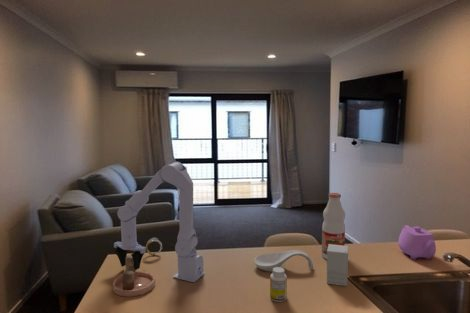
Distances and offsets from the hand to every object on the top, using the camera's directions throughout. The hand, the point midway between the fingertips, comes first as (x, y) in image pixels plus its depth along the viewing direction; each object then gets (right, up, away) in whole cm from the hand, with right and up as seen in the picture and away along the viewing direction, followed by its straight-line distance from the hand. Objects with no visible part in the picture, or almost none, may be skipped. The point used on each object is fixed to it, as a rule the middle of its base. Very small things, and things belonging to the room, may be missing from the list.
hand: (130, 267), depth 136 cm
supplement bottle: (+56, -4, -21) cm, 60 cm away
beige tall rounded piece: (0, -1, 0) cm, 1 cm away
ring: (+6, 0, +15) cm, 16 cm away
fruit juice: (+84, 0, +12) cm, 85 cm away
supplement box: (+80, -2, -9) cm, 80 cm away
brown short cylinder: (+4, -2, -15) cm, 16 cm away
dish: (+5, -3, -12) cm, 14 cm away
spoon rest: (+61, -1, +2) cm, 61 cm away
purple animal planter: (+121, +1, +14) cm, 122 cm away
